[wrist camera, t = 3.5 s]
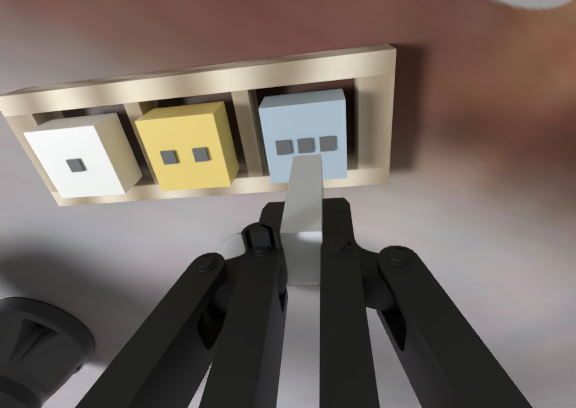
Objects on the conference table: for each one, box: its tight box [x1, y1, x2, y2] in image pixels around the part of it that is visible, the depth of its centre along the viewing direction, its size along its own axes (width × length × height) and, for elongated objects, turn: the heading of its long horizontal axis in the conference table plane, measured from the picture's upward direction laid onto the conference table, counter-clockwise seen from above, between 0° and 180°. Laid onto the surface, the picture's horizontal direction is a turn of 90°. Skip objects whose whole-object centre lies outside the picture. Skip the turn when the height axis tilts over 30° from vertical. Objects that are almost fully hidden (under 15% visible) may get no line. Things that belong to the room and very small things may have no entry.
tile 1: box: [23, 113, 142, 198], centre depth 25 cm, size 6×6×3 cm
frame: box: [0, 44, 396, 206], centre depth 26 cm, size 30×10×3 cm, turn 97°
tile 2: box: [135, 101, 239, 191], centre depth 24 cm, size 6×6×3 cm
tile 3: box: [259, 89, 347, 184], centre depth 23 cm, size 6×6×3 cm
